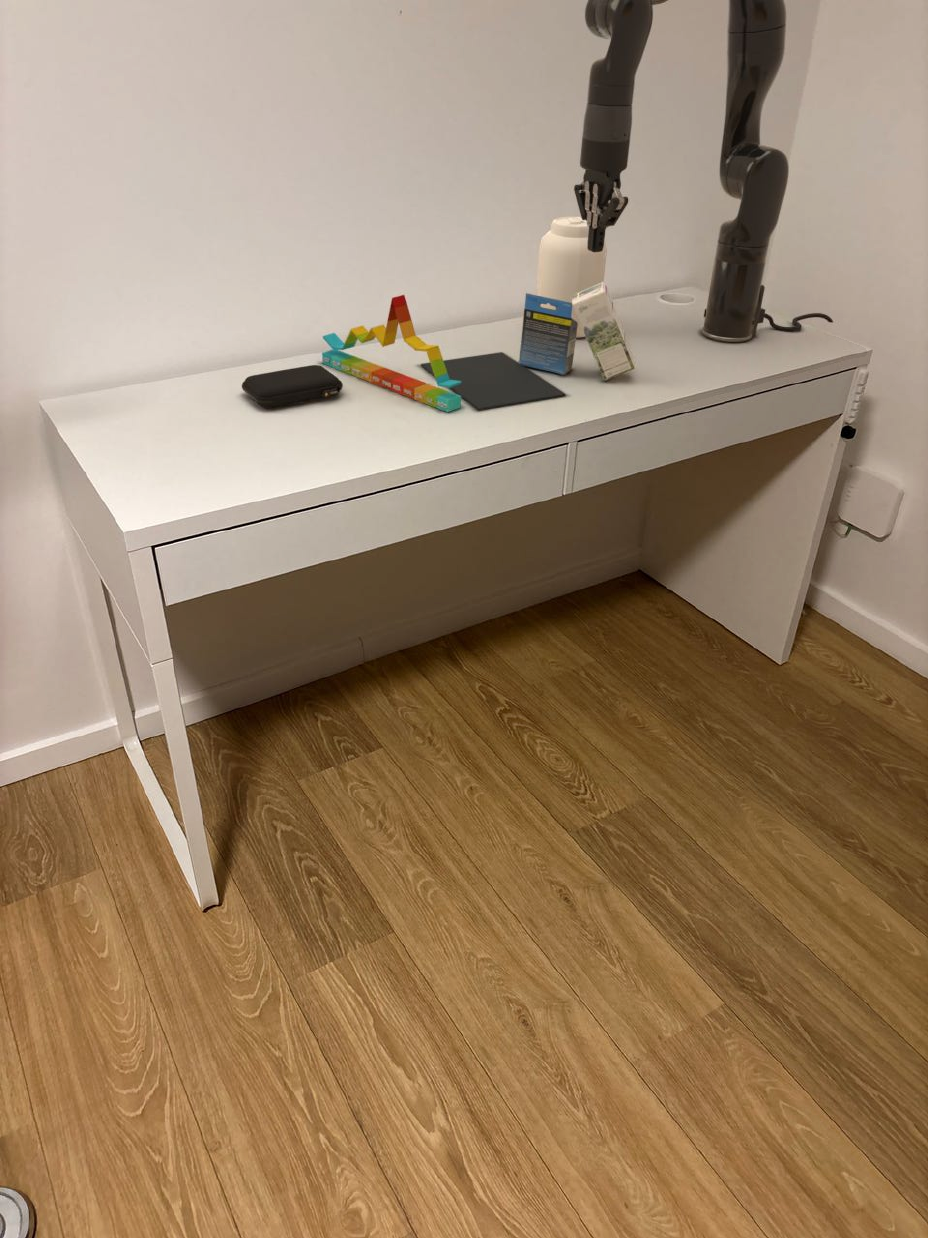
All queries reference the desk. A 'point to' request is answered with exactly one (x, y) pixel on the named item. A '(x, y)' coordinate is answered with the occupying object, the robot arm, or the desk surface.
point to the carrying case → (292, 386)
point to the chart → (389, 377)
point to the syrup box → (603, 331)
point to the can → (568, 263)
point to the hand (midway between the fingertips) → (594, 250)
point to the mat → (496, 381)
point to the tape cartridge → (548, 335)
